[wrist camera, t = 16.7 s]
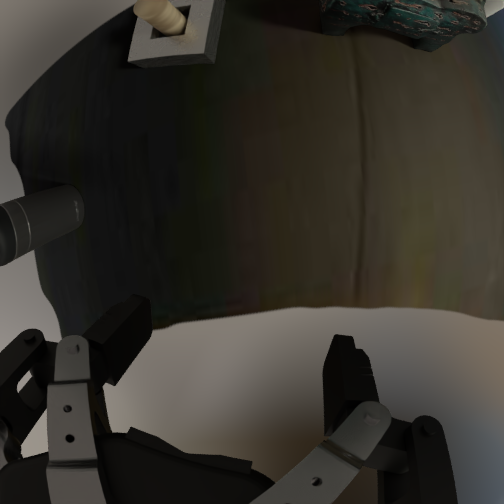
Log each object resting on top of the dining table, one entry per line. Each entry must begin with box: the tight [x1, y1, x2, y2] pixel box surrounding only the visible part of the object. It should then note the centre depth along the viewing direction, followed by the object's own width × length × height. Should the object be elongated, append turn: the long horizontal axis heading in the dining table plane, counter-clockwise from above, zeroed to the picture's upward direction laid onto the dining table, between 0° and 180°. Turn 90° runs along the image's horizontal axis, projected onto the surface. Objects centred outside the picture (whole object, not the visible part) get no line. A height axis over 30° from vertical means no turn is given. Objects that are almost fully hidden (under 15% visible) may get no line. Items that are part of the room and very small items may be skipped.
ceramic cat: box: [319, 0, 487, 52], centre depth 18 cm, size 20×6×20 cm, turn 92°
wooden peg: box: [134, 0, 188, 37], centre depth 26 cm, size 4×4×12 cm
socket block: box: [128, 0, 225, 68], centre depth 29 cm, size 12×12×5 cm
